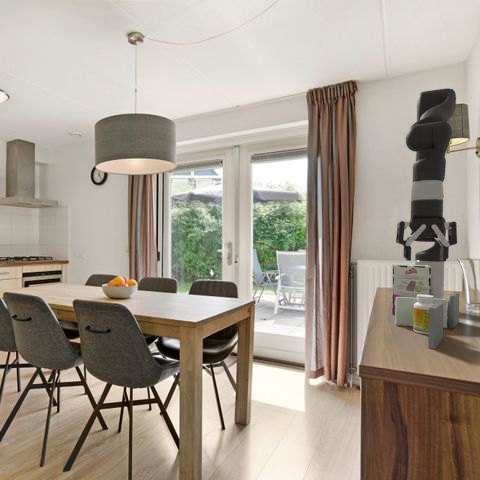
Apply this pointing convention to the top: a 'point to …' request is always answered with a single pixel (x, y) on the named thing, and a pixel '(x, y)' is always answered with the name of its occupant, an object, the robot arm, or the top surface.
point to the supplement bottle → (422, 313)
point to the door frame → (437, 319)
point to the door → (406, 310)
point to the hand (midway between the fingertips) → (425, 260)
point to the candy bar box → (410, 281)
